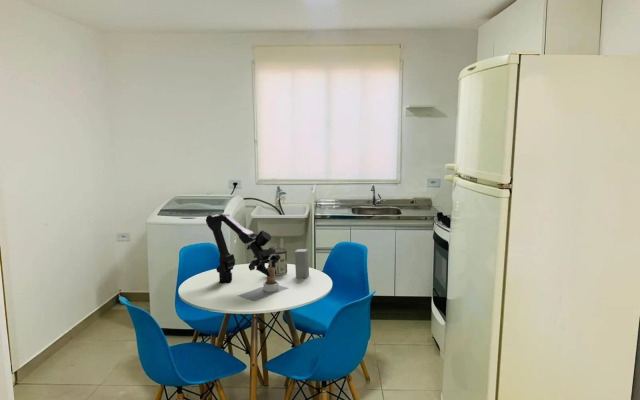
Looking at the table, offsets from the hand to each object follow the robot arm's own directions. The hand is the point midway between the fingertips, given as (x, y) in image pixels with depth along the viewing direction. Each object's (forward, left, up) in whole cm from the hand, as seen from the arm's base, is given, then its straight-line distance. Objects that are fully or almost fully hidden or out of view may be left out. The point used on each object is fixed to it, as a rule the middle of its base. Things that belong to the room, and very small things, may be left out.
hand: (272, 275), depth 232 cm
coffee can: (+2, +34, -9) cm, 35 cm away
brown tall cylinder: (-1, +1, -6) cm, 6 cm away
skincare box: (+16, +26, -9) cm, 32 cm away
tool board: (-5, -3, -9) cm, 11 cm away
